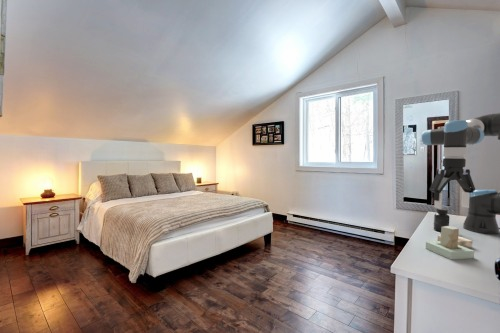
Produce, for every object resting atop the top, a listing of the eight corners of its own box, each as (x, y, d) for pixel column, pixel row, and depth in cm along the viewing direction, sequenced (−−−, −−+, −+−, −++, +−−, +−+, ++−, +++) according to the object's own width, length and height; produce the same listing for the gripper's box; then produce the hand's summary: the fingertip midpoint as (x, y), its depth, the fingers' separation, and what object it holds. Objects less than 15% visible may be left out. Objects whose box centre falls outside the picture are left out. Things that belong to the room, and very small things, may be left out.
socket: (446, 247, 115) (446, 240, 115) (474, 258, 103) (474, 250, 103) (425, 248, 113) (425, 241, 113) (451, 259, 101) (451, 252, 101)
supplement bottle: (451, 232, 137) (452, 211, 137) (437, 231, 139) (438, 210, 138) (444, 229, 144) (445, 208, 143) (431, 228, 145) (432, 207, 145)
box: (450, 255, 105) (451, 229, 105) (439, 251, 109) (440, 226, 109) (457, 253, 107) (459, 228, 107) (446, 250, 111) (448, 225, 111)
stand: (453, 240, 124) (453, 234, 124) (472, 247, 116) (472, 240, 115) (437, 241, 123) (437, 235, 123) (455, 248, 114) (455, 241, 114)
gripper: (469, 157, 112) (467, 205, 113) (420, 157, 108) (418, 206, 109) (488, 158, 105) (485, 208, 106) (436, 157, 100) (434, 210, 102)
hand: (451, 207), depth 107 cm, fingers open, 13 cm apart
